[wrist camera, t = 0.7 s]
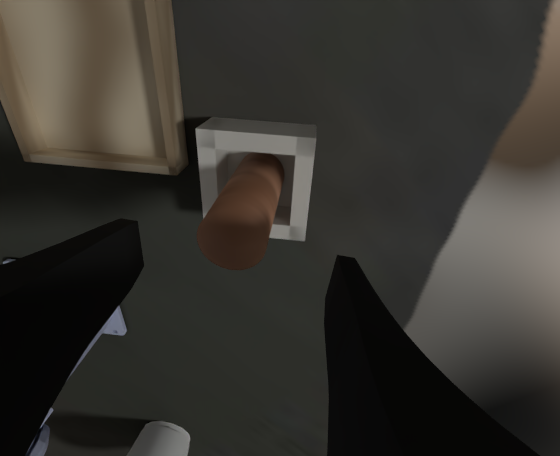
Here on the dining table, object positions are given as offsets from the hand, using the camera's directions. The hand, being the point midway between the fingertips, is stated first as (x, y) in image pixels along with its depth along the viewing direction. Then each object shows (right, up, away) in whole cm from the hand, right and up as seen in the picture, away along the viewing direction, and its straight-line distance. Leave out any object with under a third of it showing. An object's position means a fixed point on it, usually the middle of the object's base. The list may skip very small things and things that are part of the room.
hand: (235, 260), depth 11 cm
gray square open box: (+1, +5, +9) cm, 10 cm away
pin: (0, +5, +9) cm, 10 cm away
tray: (-9, +11, +7) cm, 16 cm away
